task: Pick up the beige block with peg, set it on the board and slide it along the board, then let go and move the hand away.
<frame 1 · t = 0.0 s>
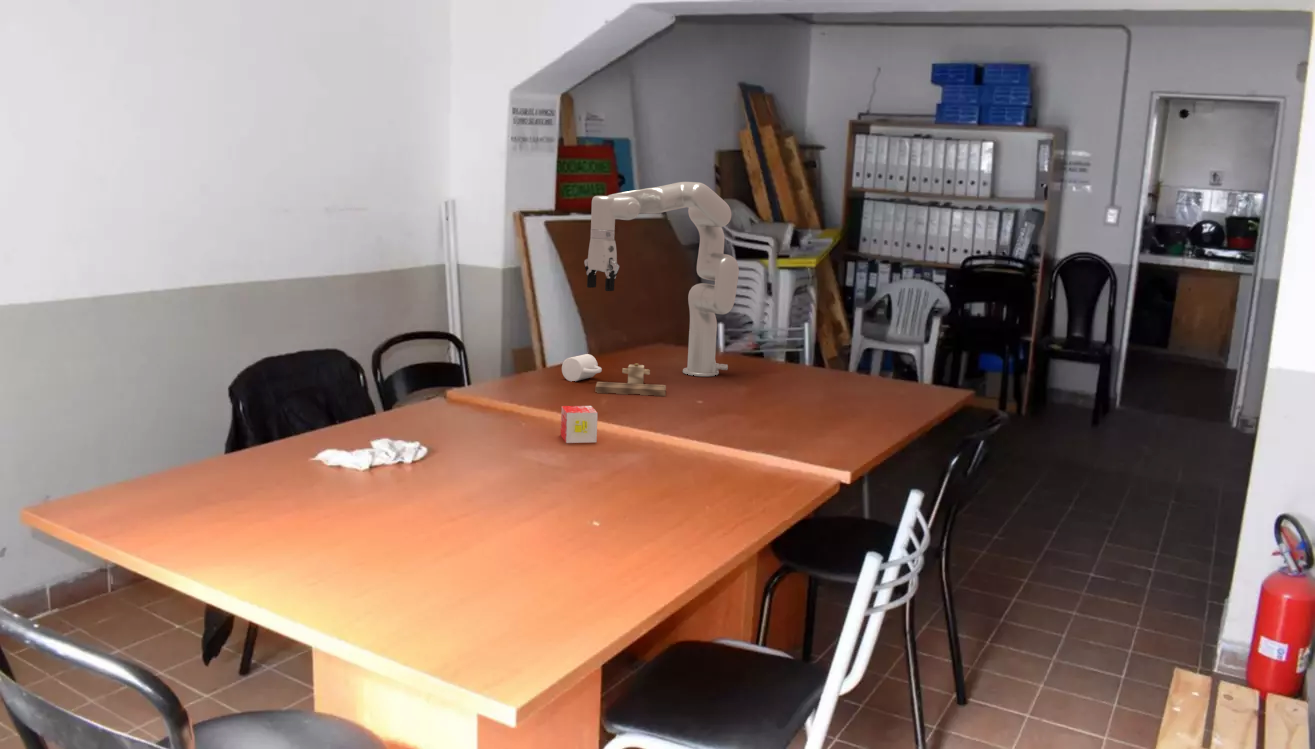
hand: (600, 289, 346), 31 cm above the table, tool pointing down, fingers open, 9 cm apart
beige block with peg: (635, 383, 356), on the table
mug: (584, 380, 359), on the table
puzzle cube: (578, 439, 281), on the table
board: (630, 392, 343), on the table
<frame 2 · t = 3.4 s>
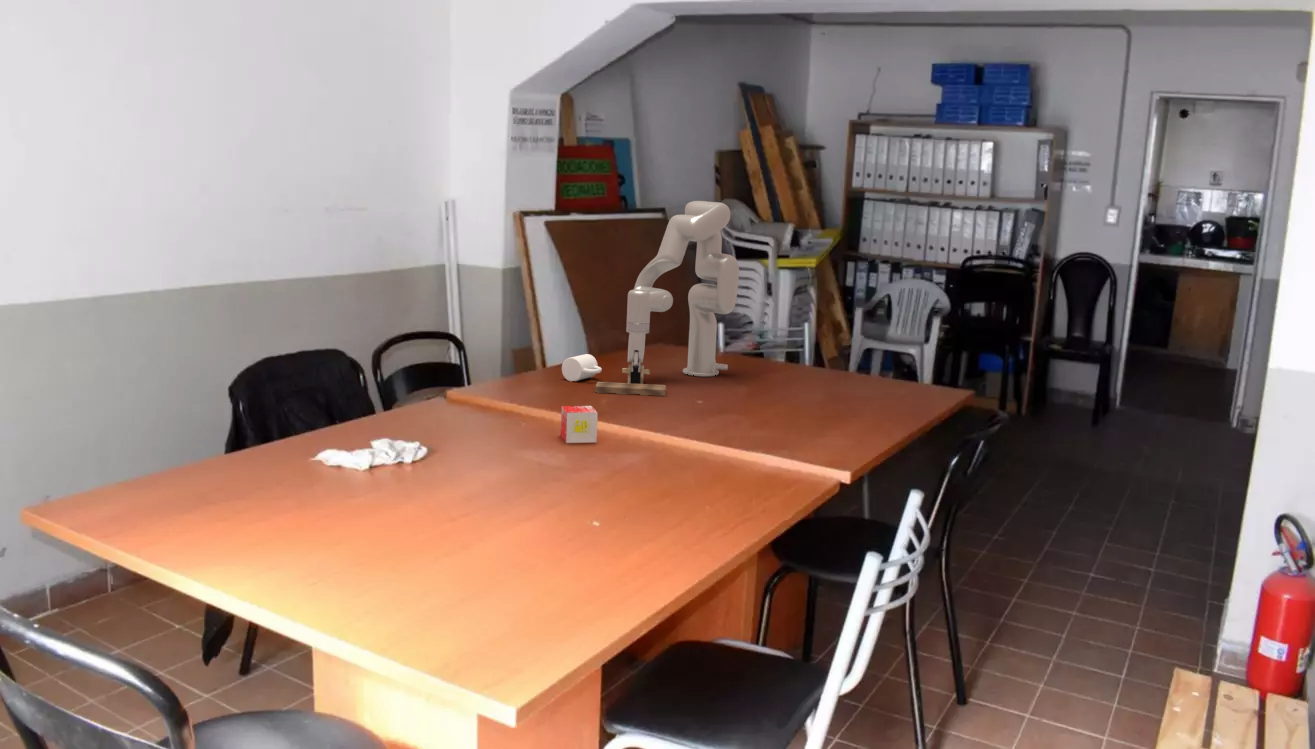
hand: (635, 381, 356), 1 cm above the table, tool pointing down, fingers closed on beige block with peg, 4 cm apart
beige block with peg: (635, 383, 356), on the table, touching gripper
everything else where it was.
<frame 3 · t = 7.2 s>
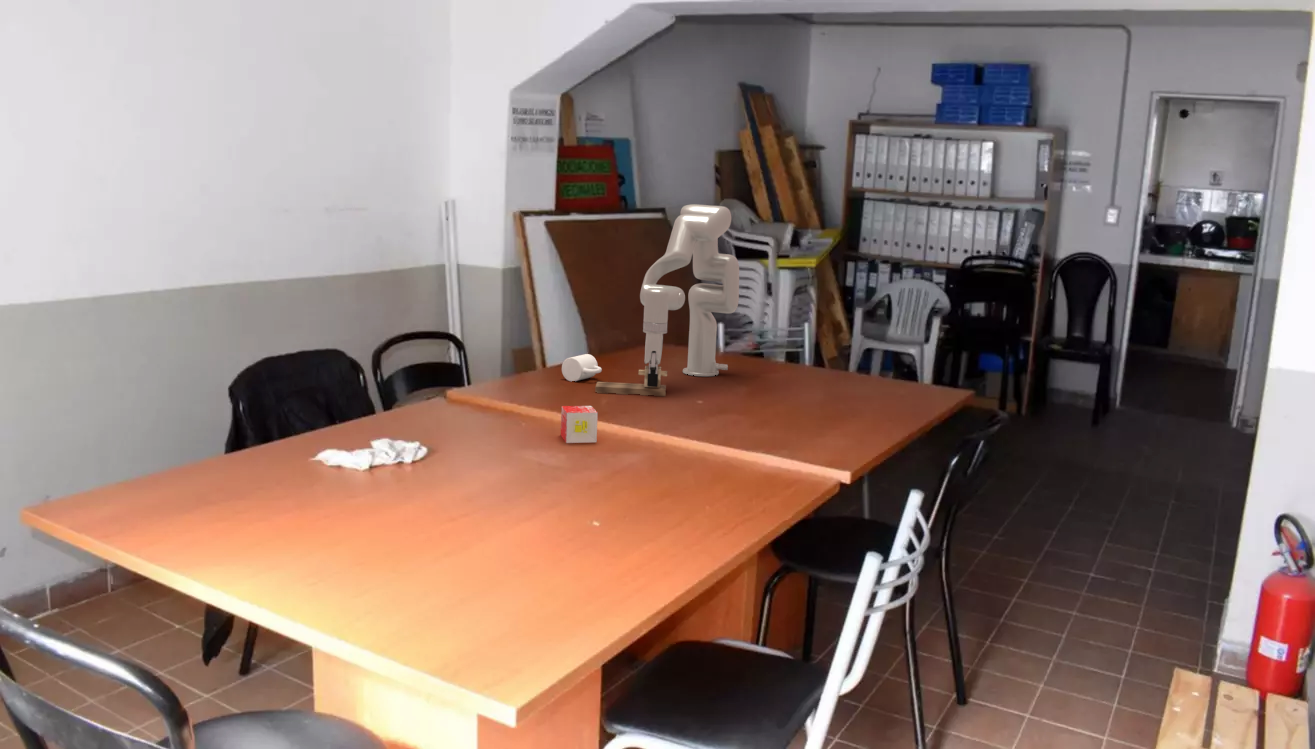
hand: (652, 384, 342), 3 cm above the table, tool pointing down, fingers closed on beige block with peg, 4 cm apart
beige block with peg: (652, 386, 342), point 2 cm above the table, touching gripper
everything else where it was.
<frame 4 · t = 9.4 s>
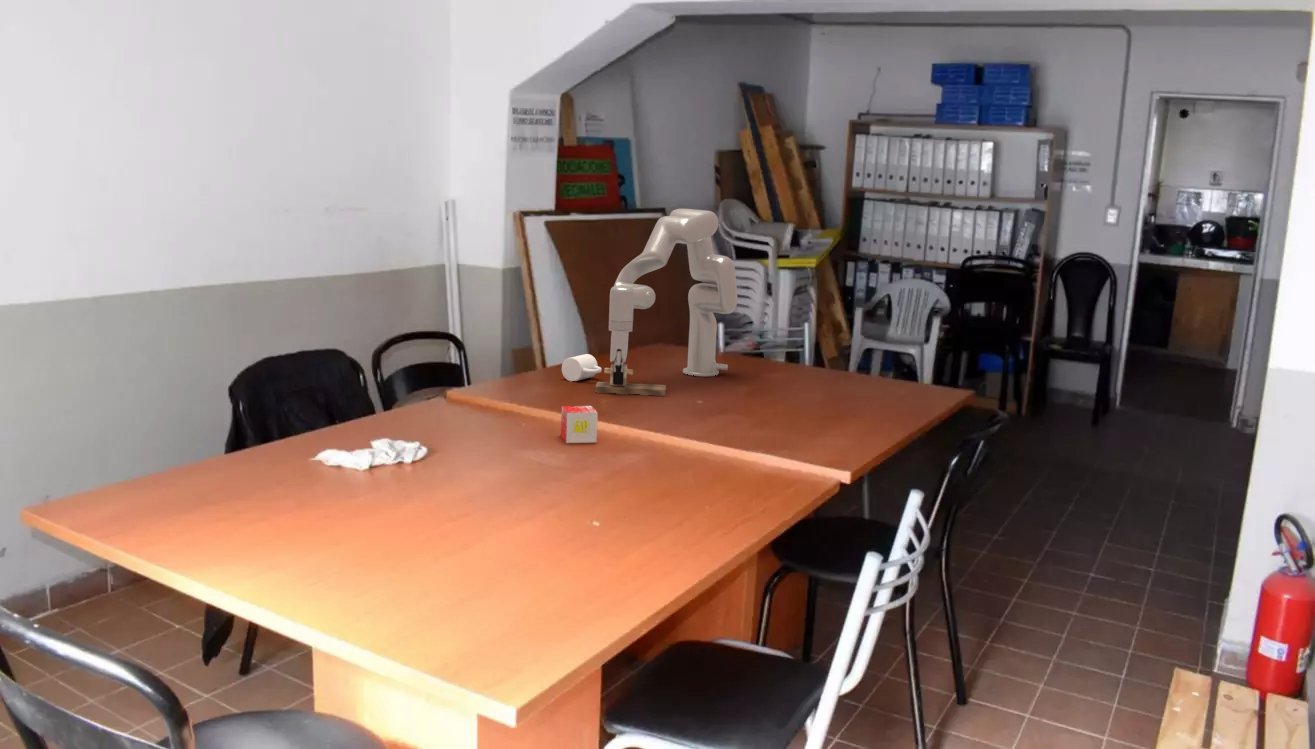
hand: (618, 382, 342), 3 cm above the table, tool pointing down, fingers closed on beige block with peg, 4 cm apart
beige block with peg: (618, 384, 342), point 2 cm above the table, touching gripper
everything else where it was.
when the fingers open (3 cm above the table, at t = 11.1 s): beige block with peg stays where it is, resting on board.
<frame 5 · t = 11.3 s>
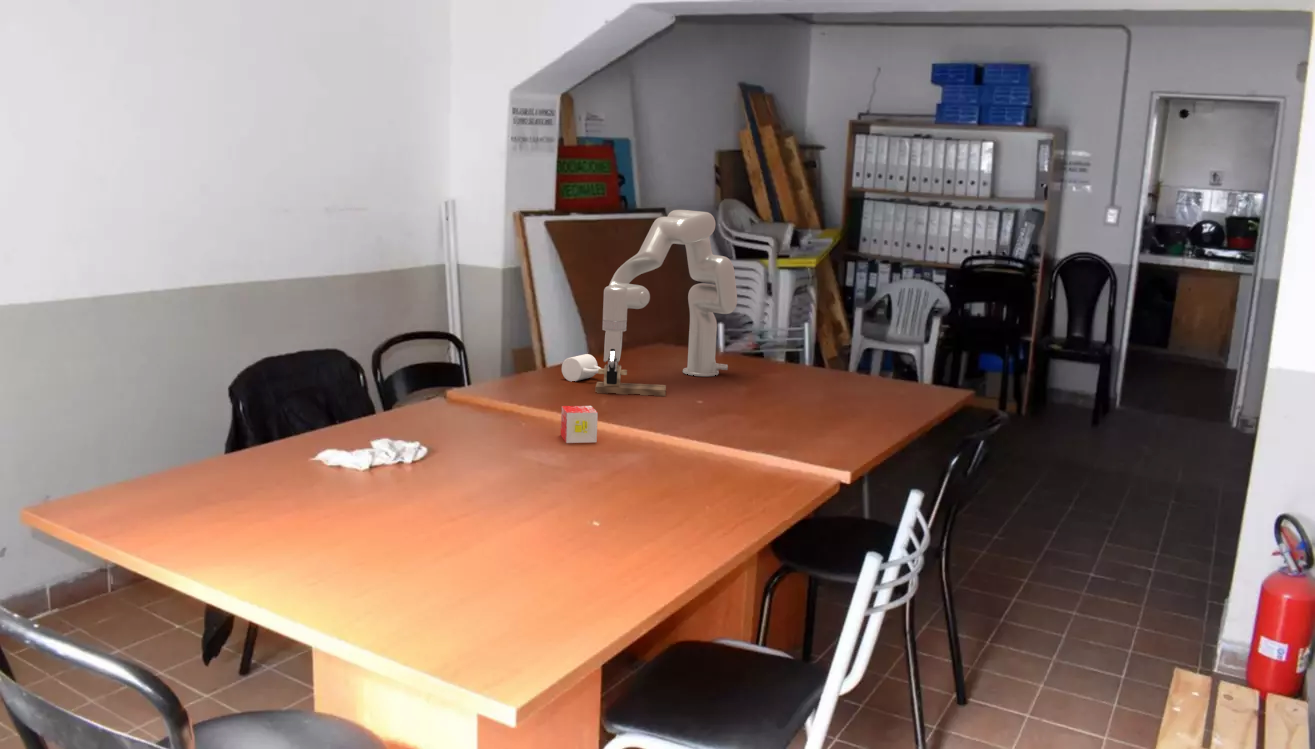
hand: (612, 381, 342), 3 cm above the table, tool pointing down, fingers open, 6 cm apart
beige block with peg: (612, 384, 342), point 2 cm above the table, touching board
everything else where it was.
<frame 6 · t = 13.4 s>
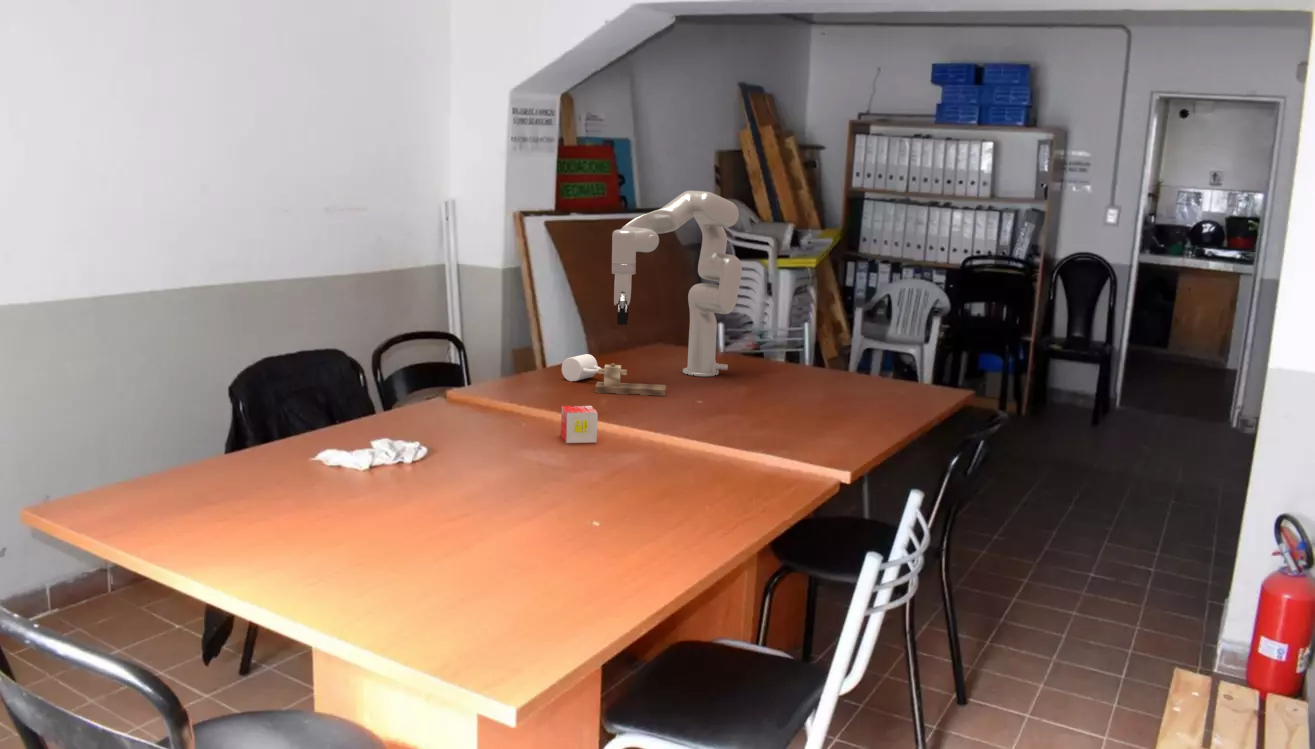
hand: (622, 322, 346), 21 cm above the table, tool pointing down, fingers open, 9 cm apart
nothing on the table moved.
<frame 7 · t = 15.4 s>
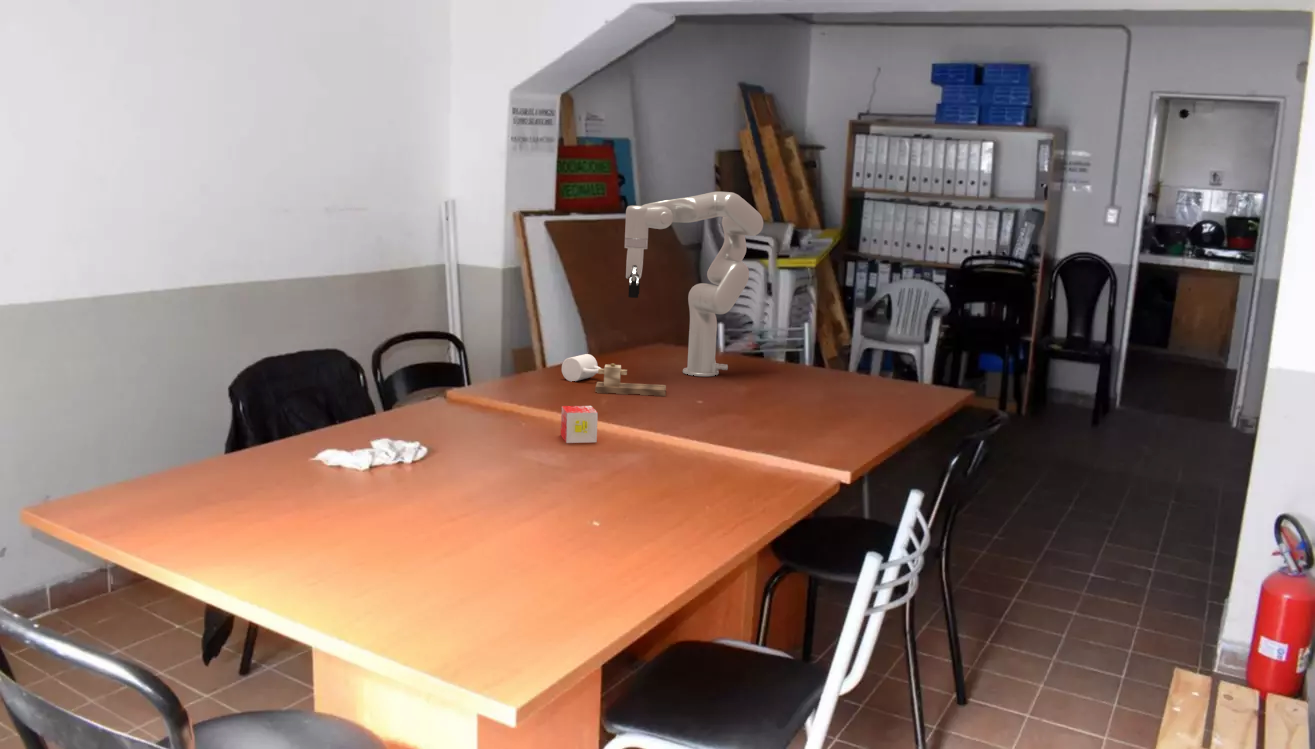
hand: (633, 295, 357), 28 cm above the table, tool pointing down, fingers open, 9 cm apart
nothing on the table moved.
at the end: beige block with peg inside the target area on the board (0.5 cm from its centre), point 2.0 cm above the board's base; beige block with peg tilted 1°; beige block with peg moved 15.7 cm from its start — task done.
